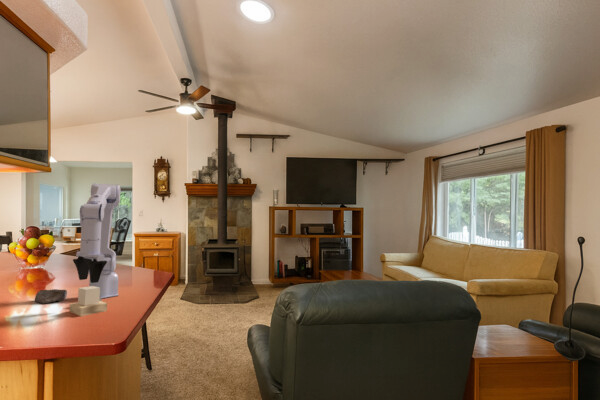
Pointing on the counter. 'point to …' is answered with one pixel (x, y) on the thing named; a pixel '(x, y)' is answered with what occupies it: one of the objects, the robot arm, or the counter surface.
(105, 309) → the maple slab
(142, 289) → the counter surface
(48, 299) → the rock
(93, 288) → the ivory cube
